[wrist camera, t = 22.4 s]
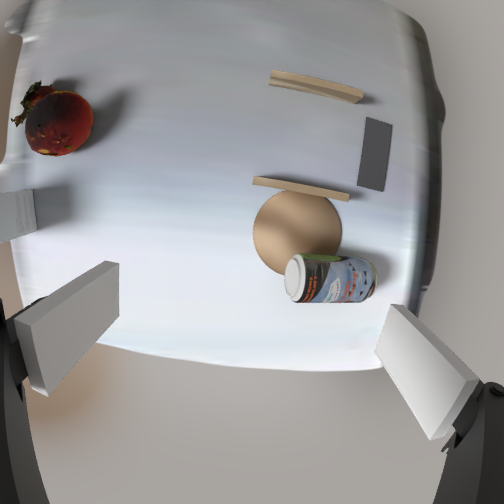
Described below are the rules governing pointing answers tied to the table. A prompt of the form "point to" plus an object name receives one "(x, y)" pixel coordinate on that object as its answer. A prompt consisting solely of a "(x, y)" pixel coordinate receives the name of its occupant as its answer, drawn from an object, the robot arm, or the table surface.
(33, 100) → the dark red rounded pieces
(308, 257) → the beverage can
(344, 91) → the channel
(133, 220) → the table surface
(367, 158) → the pad
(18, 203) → the supplement box
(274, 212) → the coaster
